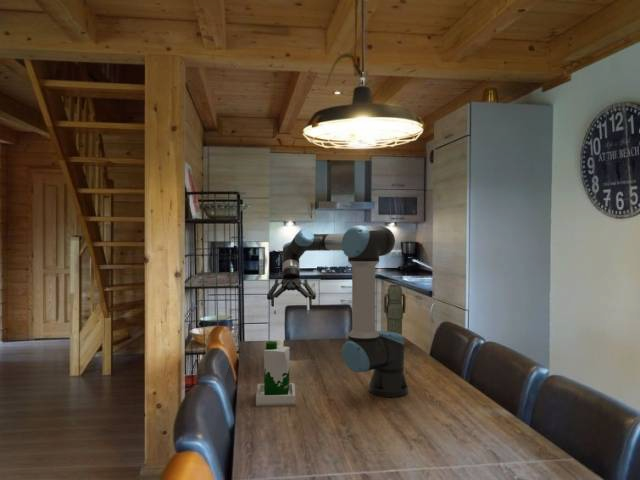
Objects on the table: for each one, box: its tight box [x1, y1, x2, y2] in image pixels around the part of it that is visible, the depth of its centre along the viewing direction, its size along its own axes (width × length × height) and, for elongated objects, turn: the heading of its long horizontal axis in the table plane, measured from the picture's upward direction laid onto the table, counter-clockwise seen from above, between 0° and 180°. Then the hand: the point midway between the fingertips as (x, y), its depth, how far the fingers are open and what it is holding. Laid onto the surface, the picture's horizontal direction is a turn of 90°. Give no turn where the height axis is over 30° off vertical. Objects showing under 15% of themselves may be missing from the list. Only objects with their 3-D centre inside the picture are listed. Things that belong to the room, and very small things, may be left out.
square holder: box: [255, 382, 296, 407], centre depth 171 cm, size 14×14×4 cm
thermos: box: [383, 284, 407, 336], centre depth 245 cm, size 9×12×35 cm
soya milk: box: [263, 341, 290, 395], centre depth 172 cm, size 9×9×20 cm
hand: (291, 312), depth 187 cm, fingers open, 13 cm apart
